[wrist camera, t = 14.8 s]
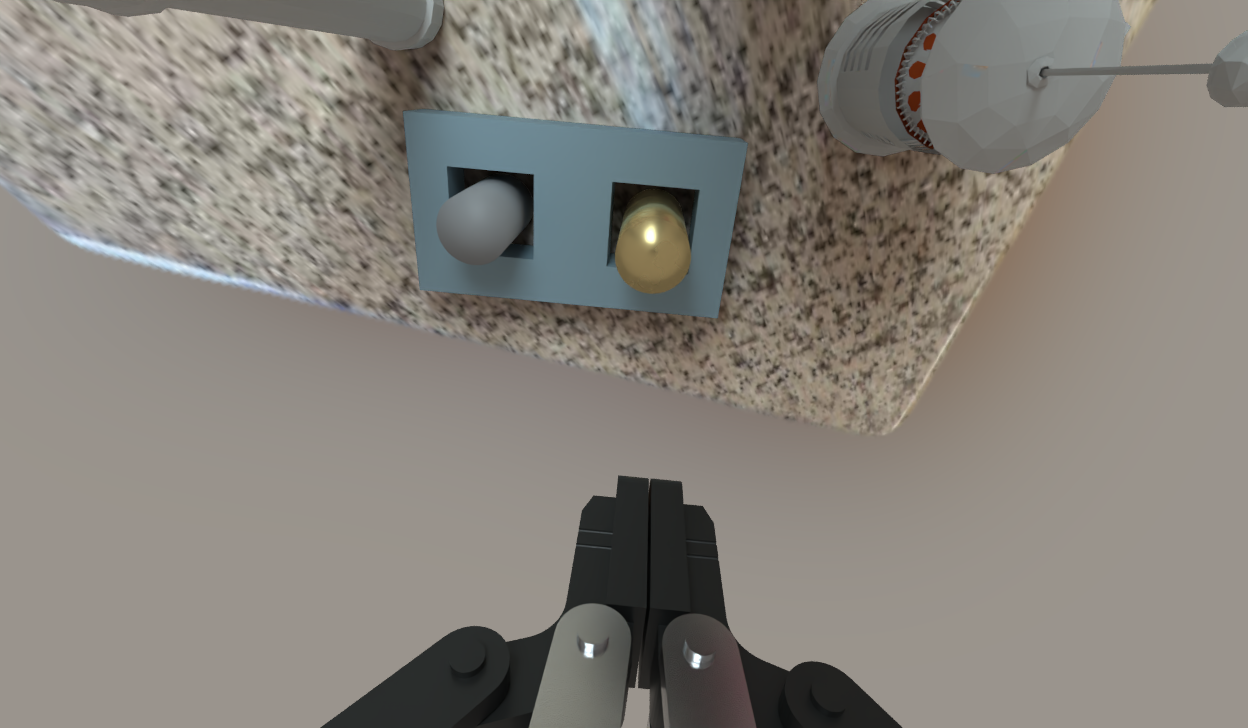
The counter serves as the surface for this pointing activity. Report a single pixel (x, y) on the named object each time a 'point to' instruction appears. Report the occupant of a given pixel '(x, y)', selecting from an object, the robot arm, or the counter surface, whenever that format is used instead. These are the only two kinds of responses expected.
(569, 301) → the jig
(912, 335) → the counter surface
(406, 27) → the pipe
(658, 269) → the gold cylinder
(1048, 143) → the french press
